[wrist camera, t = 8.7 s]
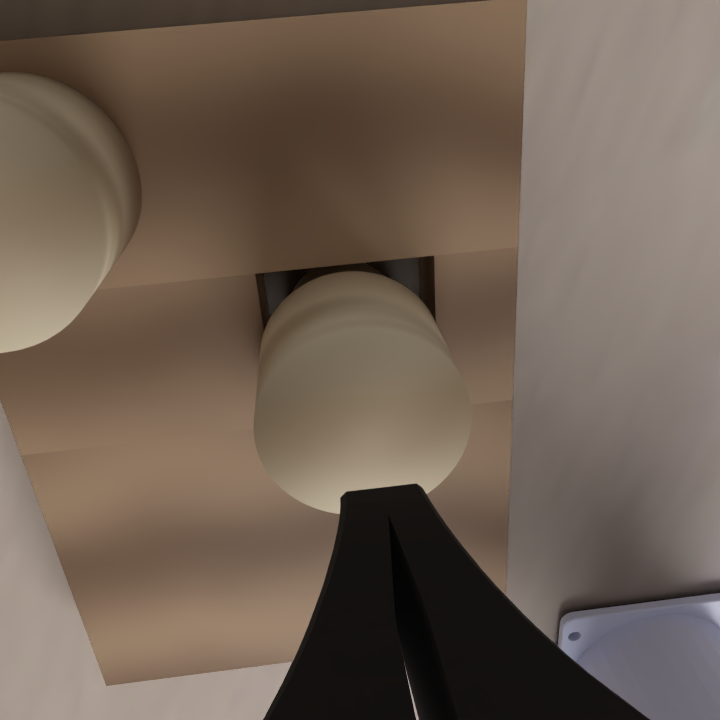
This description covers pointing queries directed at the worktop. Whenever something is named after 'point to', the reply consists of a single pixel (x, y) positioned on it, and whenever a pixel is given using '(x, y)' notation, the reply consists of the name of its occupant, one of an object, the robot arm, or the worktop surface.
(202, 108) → the board
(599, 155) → the worktop surface
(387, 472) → the peg
